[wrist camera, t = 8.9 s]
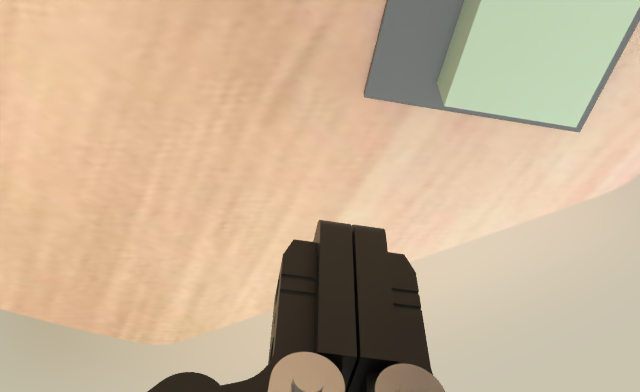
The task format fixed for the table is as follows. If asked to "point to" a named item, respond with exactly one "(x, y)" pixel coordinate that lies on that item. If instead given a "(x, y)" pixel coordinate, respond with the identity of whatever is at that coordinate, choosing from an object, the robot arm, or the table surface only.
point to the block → (532, 56)
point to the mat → (435, 57)
